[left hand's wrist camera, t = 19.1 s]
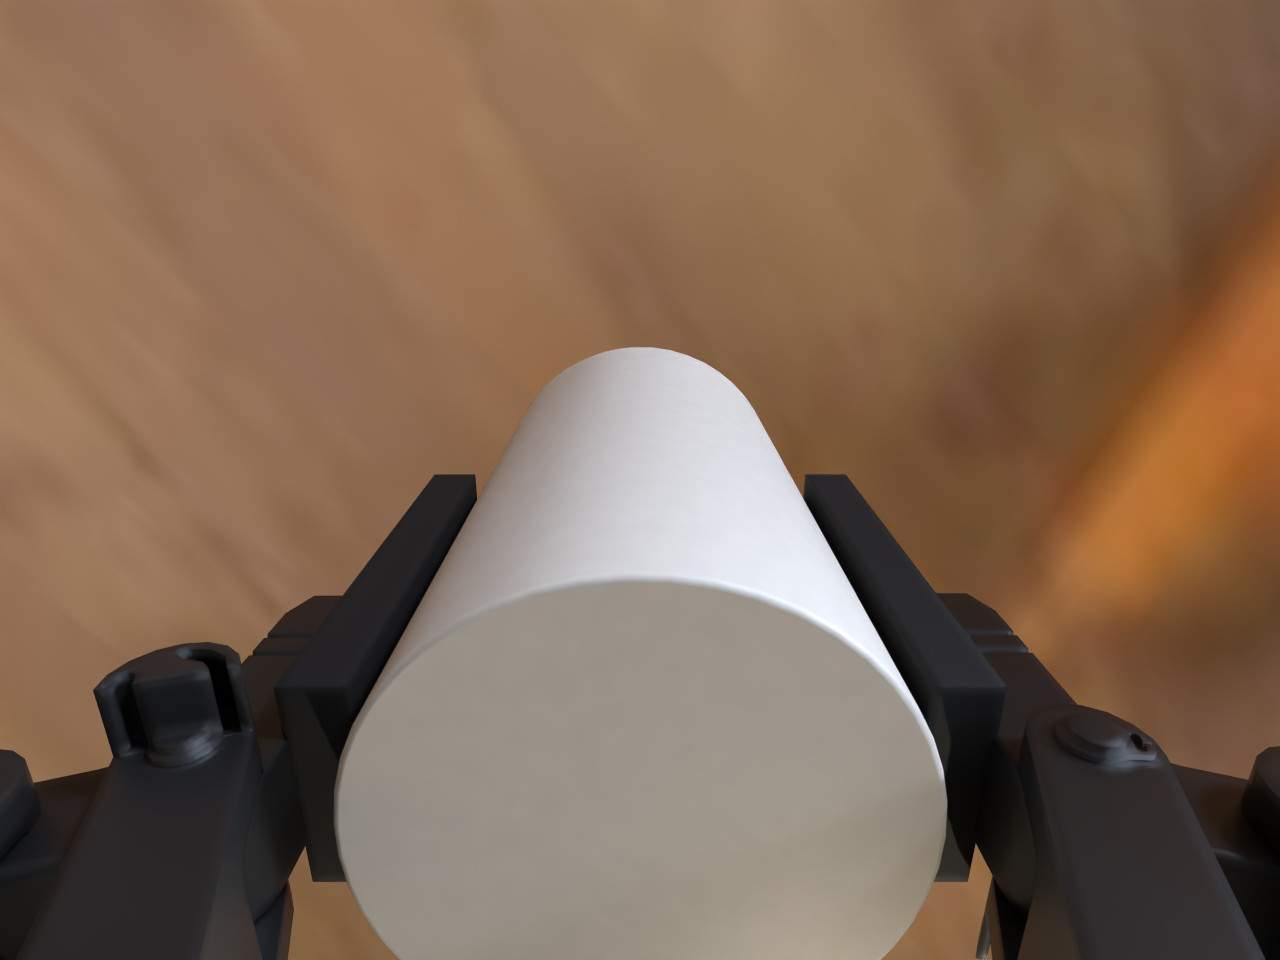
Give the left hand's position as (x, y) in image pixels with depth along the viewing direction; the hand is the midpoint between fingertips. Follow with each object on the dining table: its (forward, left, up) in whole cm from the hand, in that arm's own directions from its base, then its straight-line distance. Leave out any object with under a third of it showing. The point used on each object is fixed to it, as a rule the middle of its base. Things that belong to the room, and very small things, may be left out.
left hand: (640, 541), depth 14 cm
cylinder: (0, 0, -4) cm, 4 cm away
